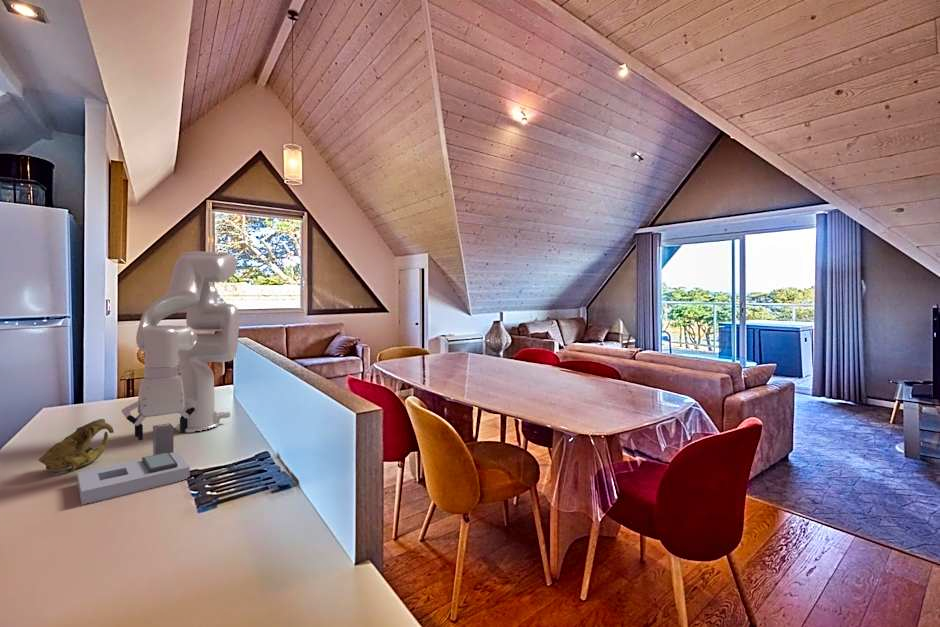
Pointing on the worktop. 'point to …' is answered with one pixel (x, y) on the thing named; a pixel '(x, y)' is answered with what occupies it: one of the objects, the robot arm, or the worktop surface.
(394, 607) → the worktop surface
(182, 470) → the dock board
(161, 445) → the block
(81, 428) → the animal skull
